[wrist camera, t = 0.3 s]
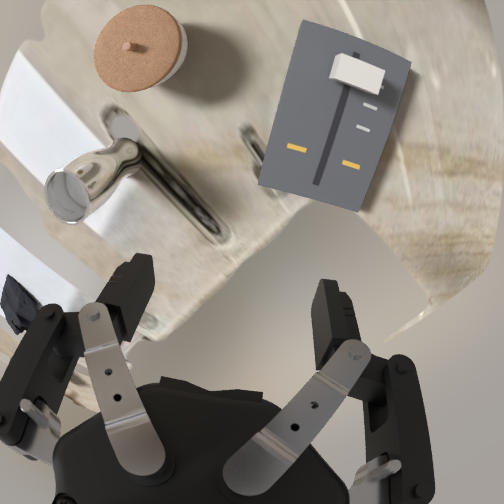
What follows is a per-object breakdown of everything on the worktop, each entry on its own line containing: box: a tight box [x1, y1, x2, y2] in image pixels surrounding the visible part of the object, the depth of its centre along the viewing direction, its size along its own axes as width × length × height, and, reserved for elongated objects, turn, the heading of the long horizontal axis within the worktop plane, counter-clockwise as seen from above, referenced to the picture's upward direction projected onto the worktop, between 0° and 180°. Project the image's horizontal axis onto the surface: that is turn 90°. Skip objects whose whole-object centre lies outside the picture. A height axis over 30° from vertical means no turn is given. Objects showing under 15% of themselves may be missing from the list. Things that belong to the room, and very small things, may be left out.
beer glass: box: [45, 138, 142, 225], centre depth 32 cm, size 7×7×15 cm
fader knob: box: [329, 53, 385, 95], centre depth 26 cm, size 3×5×4 cm, turn 77°
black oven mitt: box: [0, 275, 38, 335], centre depth 60 cm, size 15×22×5 cm
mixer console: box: [258, 20, 411, 212], centre depth 32 cm, size 22×14×3 cm, turn 167°
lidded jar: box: [94, 5, 188, 92], centre depth 26 cm, size 11×11×9 cm
